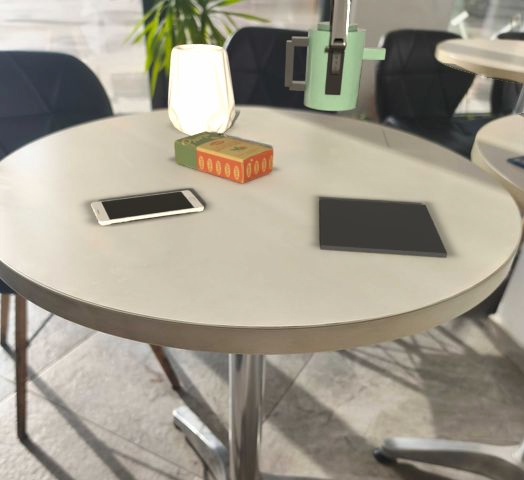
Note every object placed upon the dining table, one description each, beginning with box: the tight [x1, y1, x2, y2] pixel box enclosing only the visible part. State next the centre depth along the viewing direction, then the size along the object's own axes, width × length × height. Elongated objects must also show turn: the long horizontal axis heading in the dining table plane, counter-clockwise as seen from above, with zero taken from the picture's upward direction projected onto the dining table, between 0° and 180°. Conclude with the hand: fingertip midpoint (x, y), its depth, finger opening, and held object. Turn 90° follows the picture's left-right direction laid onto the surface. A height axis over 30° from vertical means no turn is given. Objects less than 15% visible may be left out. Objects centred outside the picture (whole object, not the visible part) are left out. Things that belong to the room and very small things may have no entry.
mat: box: [319, 198, 448, 259], centre depth 69 cm, size 16×16×1 cm
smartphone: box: [90, 189, 205, 226], centre depth 72 cm, size 8×1×15 cm
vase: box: [167, 43, 236, 136], centre depth 102 cm, size 14×14×15 cm
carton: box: [173, 131, 274, 184], centre depth 86 cm, size 8×16×4 cm, turn 51°
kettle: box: [284, 21, 387, 112], centre depth 88 cm, size 17×10×15 cm, turn 85°
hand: (331, 88), depth 91 cm, fingers closed on kettle, 10 cm apart
